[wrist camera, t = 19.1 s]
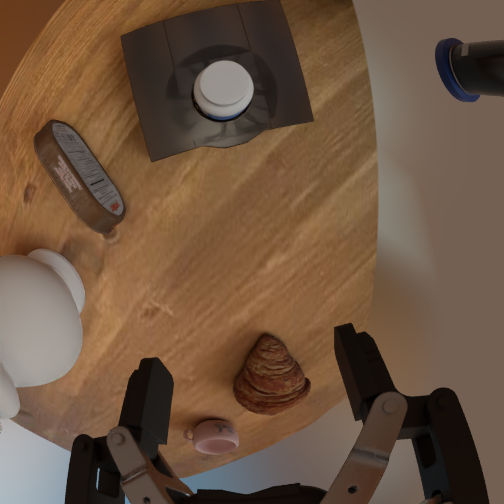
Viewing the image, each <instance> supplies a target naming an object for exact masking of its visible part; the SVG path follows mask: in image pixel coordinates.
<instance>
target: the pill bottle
mask: <svg viewBox="0 0 504 504" xmlns="http://www.w3.org/2000/svg"><path fill="white" fill-rule="evenodd" d="M253 91H254V87H253V82H252V79H251V77H250V75H249V74H248V72H247V71H246V70H245V69H244V68H243V67H242V66H241V65H239V64H238V63H235V62H232V61H218V62H215V63H213V64H211V65H209V66H208V67H207V68H205V69H204V70H203V71H202V72H201V73H200V74H199V75H198V77H197V79H196V81H195V84H194V96H195V99H196V102H197V104H198V106H199V108H200V110H201V111H202V113H204V114H205V115H206V116H207V117H208V118H210V119H212V120H216V121H227V120H230V119H233V118H235V117H236V116H238V115H239V114H240V113H241V112H242V111H243V110H244V109H245V108H246V107H247V105H248V104H249V102H250V101H251V99H252V96H253Z"/></svg>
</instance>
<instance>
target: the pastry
mask: <svg viewBox="0 0 504 504" xmlns="http://www.w3.org/2000/svg"><path fill="white" fill-rule="evenodd" d="M310 388H311V383H310V381H309V379H308V378H305V377H304V374H303V373H302V370H301V368H300V366H299V365H298V363H297V362H296V361H294V360H293V358H292V357H291V356H289V355H288V350H287V347H286V346H285V345H284V344H283V343H282V342H281V341H279V340H278V339H276V338H275V337H273V336H270V335H264V336H262V338H261V339H260V340H259V341H258V343H257V345H256V347H255V349H254V351H253V353H252V354H251V355H250V356H249V358H248V360H247V362H246V363H245V367H244V370H243V371H242V373H241V374H240V375H239V377H238V378H237V379H236V381H235V382H234V386H233V391H234V395H235V398H236V400H237V402H238V403H239V404H241V405H242V406H243V407H245V408H247V409H248V410H249V411H250V412H254V413H256V414H263V415H271V416H273V415H276V414H278V413H280V412H283V411H285V410H287V409H289V408H291V407H293V406H294V405H296V404H298V403H299V402H301V401H302V400H303V399H304V398H305V397H306V396H307V395H308V393H309V391H310Z"/></svg>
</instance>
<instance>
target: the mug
mask: <svg viewBox="0 0 504 504" xmlns="http://www.w3.org/2000/svg"><path fill="white" fill-rule="evenodd" d="M188 432H191V433H192V434H193V438H192V439H189V438H188V437H187V433H188ZM183 435H184V438H185V439H186V440H187V441H189V442H193V445H194V447H195V449H196V450H198V451H200V452H202V453H206V454H225V453H229V452H232V451H234V450H235V449H236V448H237V447H238V444H239V440H238V434H237V432H236V430H235V429H234V427H233V426H232V425H231V424H229V423H228V422H225V421H221V420H208V421H204V422H202V423H200V424H199V425H198V426H197V427H196V428H195V430H194V431H193V430H192V429H186V430H185V431H184V433H183Z"/></svg>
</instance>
